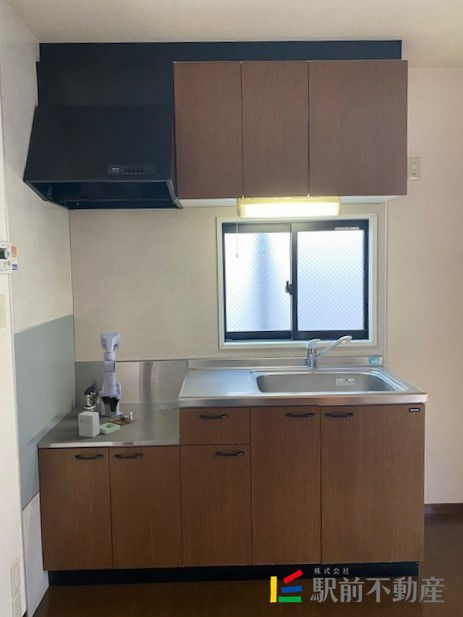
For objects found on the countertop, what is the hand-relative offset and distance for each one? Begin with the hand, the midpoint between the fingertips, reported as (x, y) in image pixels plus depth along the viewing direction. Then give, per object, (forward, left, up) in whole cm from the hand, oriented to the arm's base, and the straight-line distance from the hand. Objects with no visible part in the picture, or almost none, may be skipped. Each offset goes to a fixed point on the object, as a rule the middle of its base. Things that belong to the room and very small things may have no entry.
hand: (110, 410), depth 257 cm
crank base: (0, +8, -7) cm, 11 cm away
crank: (+3, +8, -6) cm, 10 cm away
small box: (+3, -16, -7) cm, 18 cm away
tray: (+6, -7, -7) cm, 11 cm away
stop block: (0, 0, -2) cm, 2 cm away
